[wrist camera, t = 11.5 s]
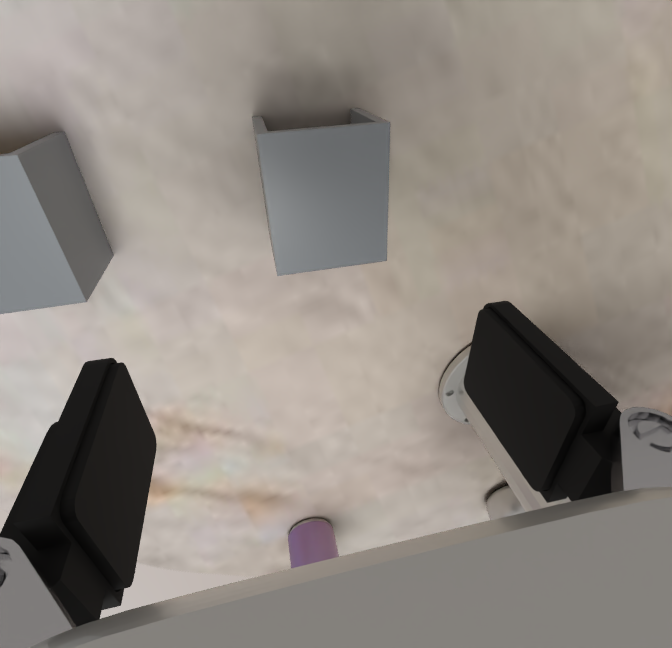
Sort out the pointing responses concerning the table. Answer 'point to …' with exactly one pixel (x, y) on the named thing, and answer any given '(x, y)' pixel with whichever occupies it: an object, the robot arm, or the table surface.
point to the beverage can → (311, 542)
